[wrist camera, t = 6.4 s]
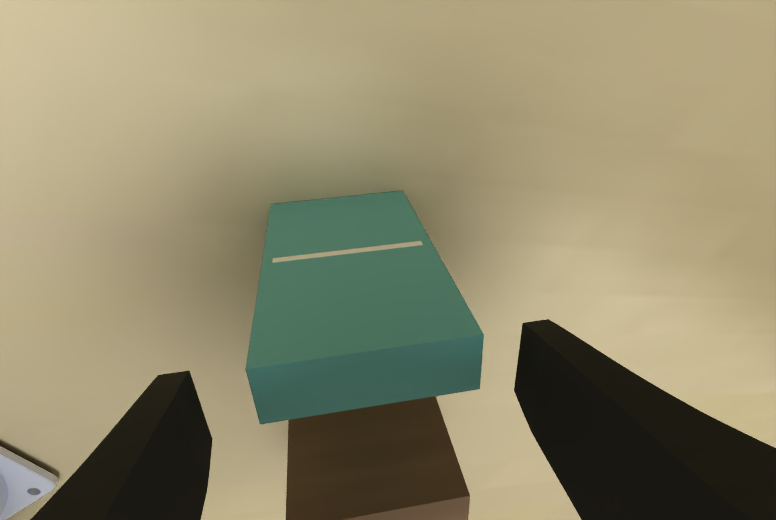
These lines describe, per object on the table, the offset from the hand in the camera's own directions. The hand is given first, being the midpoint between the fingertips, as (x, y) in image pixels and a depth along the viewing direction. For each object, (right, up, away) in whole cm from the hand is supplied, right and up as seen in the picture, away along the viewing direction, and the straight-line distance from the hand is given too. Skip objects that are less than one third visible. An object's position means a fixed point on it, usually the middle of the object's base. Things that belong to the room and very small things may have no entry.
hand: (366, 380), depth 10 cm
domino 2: (-1, -1, +10) cm, 10 cm away
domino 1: (-1, +4, +8) cm, 9 cm away
